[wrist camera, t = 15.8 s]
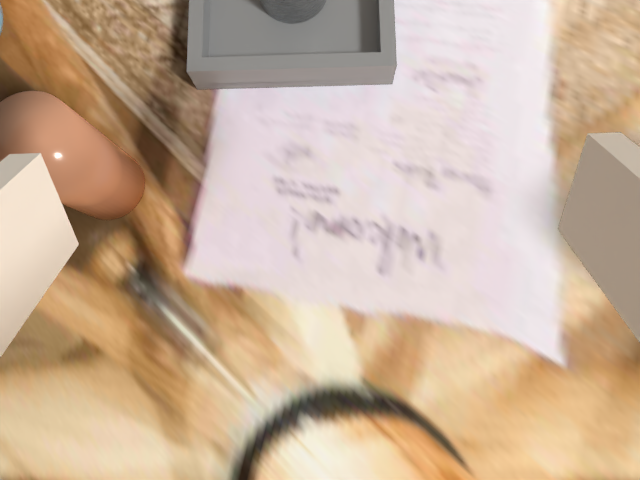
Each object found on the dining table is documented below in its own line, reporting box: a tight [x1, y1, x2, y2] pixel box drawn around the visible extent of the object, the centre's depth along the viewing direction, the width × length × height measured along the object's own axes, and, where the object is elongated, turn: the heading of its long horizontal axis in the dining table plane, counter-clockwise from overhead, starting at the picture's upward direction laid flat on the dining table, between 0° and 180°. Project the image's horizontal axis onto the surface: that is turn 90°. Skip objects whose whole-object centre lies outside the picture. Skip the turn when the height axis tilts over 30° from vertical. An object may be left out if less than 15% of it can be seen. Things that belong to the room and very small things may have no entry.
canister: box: [0, 91, 145, 220], centre depth 29 cm, size 5×5×9 cm
